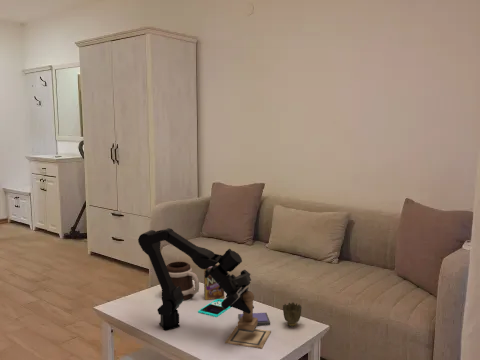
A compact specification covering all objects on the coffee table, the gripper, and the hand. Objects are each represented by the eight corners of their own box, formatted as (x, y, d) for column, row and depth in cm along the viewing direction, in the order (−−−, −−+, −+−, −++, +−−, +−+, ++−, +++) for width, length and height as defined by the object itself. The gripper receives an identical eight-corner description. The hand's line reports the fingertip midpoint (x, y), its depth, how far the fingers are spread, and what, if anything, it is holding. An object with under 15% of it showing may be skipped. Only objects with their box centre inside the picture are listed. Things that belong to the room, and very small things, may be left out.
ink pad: (240, 326, 169) (240, 323, 169) (238, 316, 178) (238, 313, 178) (270, 325, 170) (270, 321, 170) (266, 315, 179) (266, 311, 179)
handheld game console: (236, 304, 191) (236, 301, 191) (217, 318, 177) (217, 315, 177) (217, 300, 196) (217, 297, 196) (197, 313, 182) (197, 310, 182)
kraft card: (225, 343, 156) (225, 341, 156) (236, 327, 169) (236, 325, 168) (262, 348, 152) (262, 347, 152) (270, 332, 164) (270, 330, 164)
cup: (289, 331, 165) (289, 311, 164) (279, 323, 171) (279, 304, 170) (305, 327, 168) (305, 307, 167) (294, 319, 175) (294, 300, 174)
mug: (155, 297, 199) (154, 266, 197) (178, 287, 212) (177, 258, 210) (187, 307, 188) (187, 274, 186) (209, 296, 200) (208, 265, 198)
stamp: (237, 330, 158) (238, 293, 156) (242, 323, 164) (243, 287, 162) (253, 332, 156) (253, 295, 154) (257, 325, 162) (258, 289, 160)
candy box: (205, 300, 195) (204, 268, 193) (204, 297, 199) (203, 265, 197) (224, 298, 197) (224, 266, 195) (222, 295, 201) (222, 263, 199)
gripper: (229, 274, 149) (259, 308, 147) (245, 258, 167) (272, 288, 165) (208, 293, 153) (238, 326, 151) (226, 275, 170) (253, 305, 168)
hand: (251, 310), depth 159 cm, fingers closed on stamp, 4 cm apart
